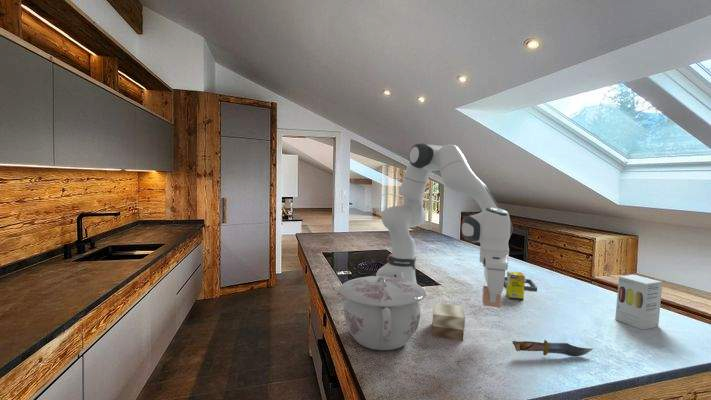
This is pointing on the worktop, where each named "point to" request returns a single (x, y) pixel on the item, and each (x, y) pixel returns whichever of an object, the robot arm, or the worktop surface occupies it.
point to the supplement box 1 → (515, 285)
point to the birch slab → (448, 316)
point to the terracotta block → (487, 302)
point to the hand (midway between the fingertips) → (491, 298)
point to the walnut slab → (447, 333)
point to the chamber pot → (382, 310)
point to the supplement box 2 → (638, 301)
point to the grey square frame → (525, 286)
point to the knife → (551, 348)
